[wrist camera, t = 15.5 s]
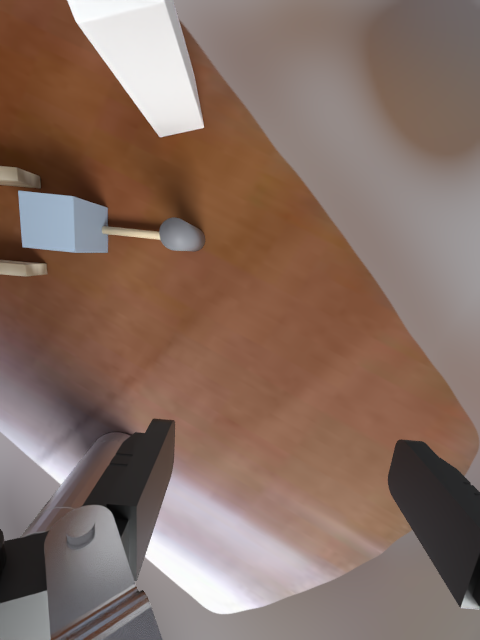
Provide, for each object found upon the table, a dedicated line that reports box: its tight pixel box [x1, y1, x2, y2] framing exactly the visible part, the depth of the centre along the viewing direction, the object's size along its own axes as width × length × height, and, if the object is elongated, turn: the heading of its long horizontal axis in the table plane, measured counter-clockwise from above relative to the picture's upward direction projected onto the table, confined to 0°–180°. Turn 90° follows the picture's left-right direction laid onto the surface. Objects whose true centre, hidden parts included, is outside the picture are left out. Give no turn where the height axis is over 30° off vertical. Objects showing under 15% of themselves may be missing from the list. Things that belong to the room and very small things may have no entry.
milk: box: [67, 0, 204, 137], centre depth 25 cm, size 6×6×22 cm
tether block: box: [18, 191, 205, 253], centre depth 34 cm, size 6×20×11 cm, turn 84°
